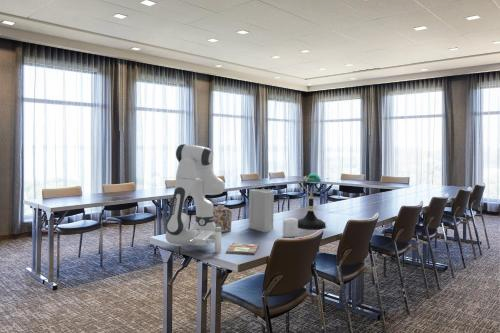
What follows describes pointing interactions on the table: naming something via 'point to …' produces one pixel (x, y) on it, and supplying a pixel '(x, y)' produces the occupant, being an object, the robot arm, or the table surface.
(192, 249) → the table surface
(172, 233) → the robot arm
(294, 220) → the photo printer
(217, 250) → the marker
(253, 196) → the paper bag
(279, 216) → the table surface
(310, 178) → the banker's lamp
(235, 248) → the picture board
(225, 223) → the decorative jar
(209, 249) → the table surface
